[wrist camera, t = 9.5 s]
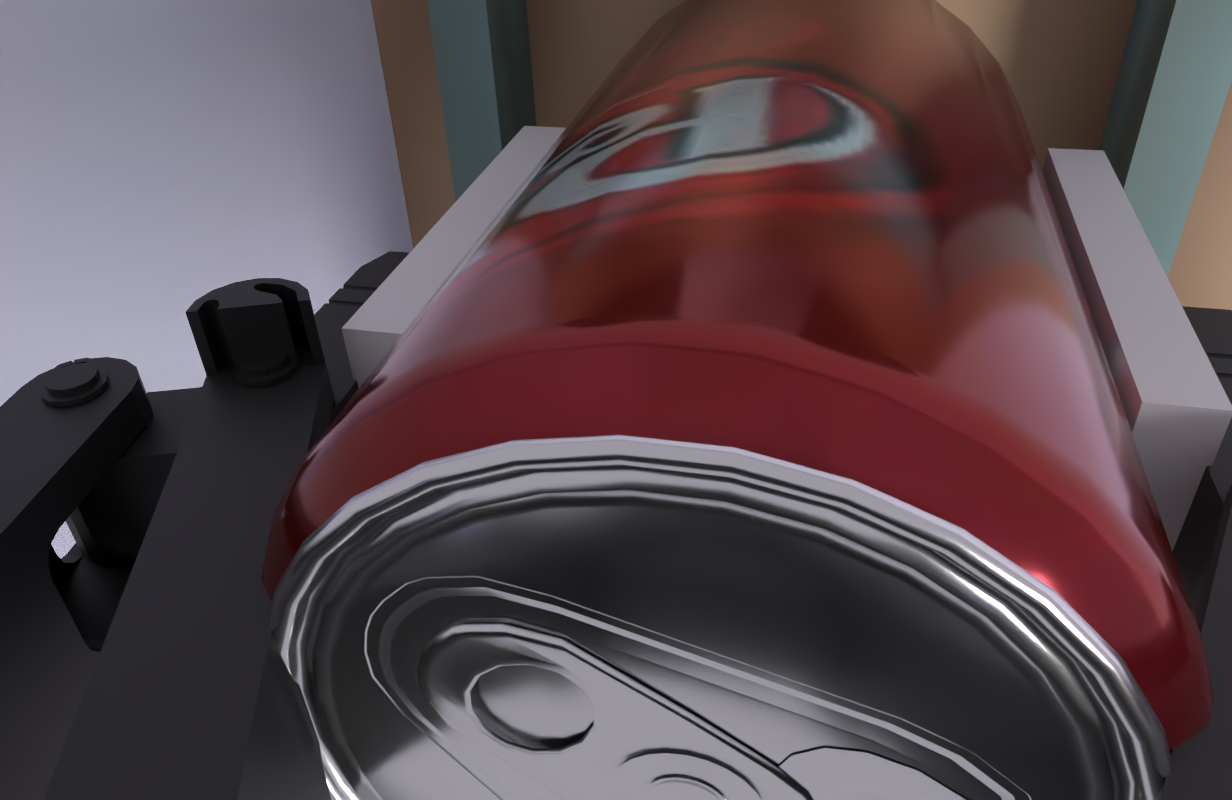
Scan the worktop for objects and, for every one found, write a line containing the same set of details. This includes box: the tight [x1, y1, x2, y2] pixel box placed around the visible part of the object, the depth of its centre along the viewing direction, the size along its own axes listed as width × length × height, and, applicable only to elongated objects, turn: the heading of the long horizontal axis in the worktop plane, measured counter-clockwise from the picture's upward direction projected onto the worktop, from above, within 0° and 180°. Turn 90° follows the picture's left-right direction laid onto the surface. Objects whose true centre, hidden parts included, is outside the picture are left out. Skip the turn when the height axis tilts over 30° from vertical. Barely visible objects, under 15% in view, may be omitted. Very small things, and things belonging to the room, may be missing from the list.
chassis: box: [371, 0, 1232, 310], centre depth 17 cm, size 16×22×5 cm
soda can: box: [261, 0, 1214, 800], centre depth 12 cm, size 7×7×12 cm
